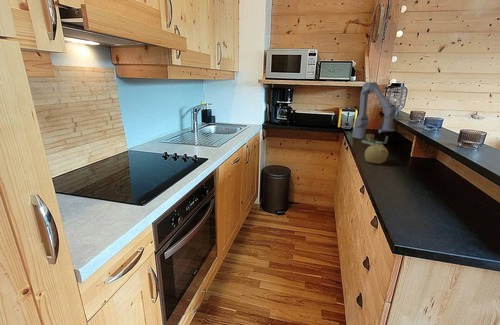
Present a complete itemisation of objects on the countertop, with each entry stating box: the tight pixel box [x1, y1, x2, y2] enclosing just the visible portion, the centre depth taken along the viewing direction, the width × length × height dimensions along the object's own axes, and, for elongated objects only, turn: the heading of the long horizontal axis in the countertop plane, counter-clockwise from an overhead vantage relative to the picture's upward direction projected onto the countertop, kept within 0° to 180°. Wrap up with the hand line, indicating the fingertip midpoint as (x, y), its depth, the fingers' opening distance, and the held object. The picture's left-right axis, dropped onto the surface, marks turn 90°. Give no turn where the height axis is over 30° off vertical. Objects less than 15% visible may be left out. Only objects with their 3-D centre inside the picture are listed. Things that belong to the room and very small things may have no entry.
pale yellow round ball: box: [364, 144, 389, 165], centre depth 147 cm, size 11×12×11 cm
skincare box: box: [378, 115, 395, 137], centre depth 222 cm, size 8×7×16 cm
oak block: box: [364, 133, 375, 143], centre depth 194 cm, size 4×4×6 cm
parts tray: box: [360, 139, 384, 146], centre depth 193 cm, size 12×9×2 cm
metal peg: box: [383, 135, 389, 145], centre depth 194 cm, size 4×4×6 cm
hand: (384, 141), depth 194 cm, fingers closed on metal peg, 4 cm apart
